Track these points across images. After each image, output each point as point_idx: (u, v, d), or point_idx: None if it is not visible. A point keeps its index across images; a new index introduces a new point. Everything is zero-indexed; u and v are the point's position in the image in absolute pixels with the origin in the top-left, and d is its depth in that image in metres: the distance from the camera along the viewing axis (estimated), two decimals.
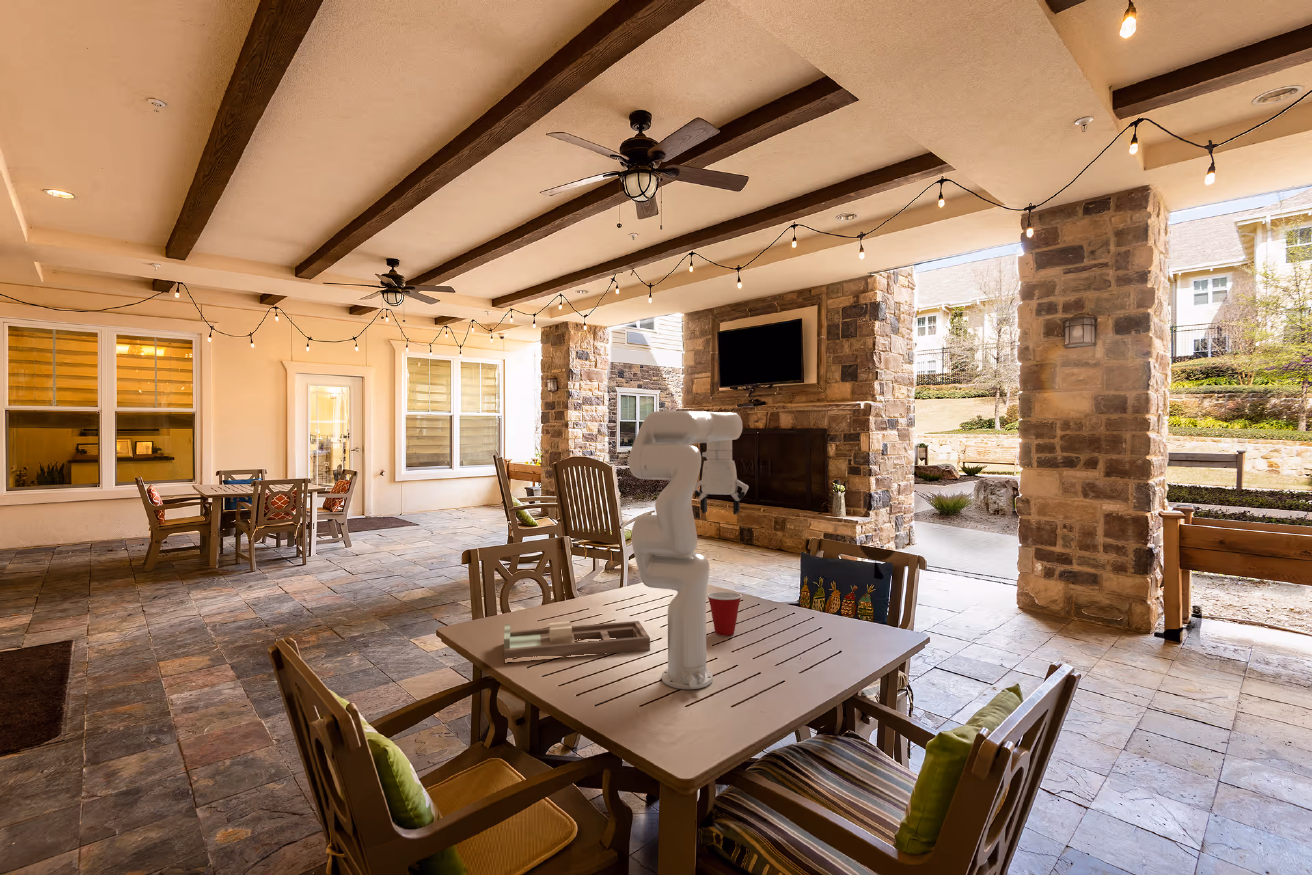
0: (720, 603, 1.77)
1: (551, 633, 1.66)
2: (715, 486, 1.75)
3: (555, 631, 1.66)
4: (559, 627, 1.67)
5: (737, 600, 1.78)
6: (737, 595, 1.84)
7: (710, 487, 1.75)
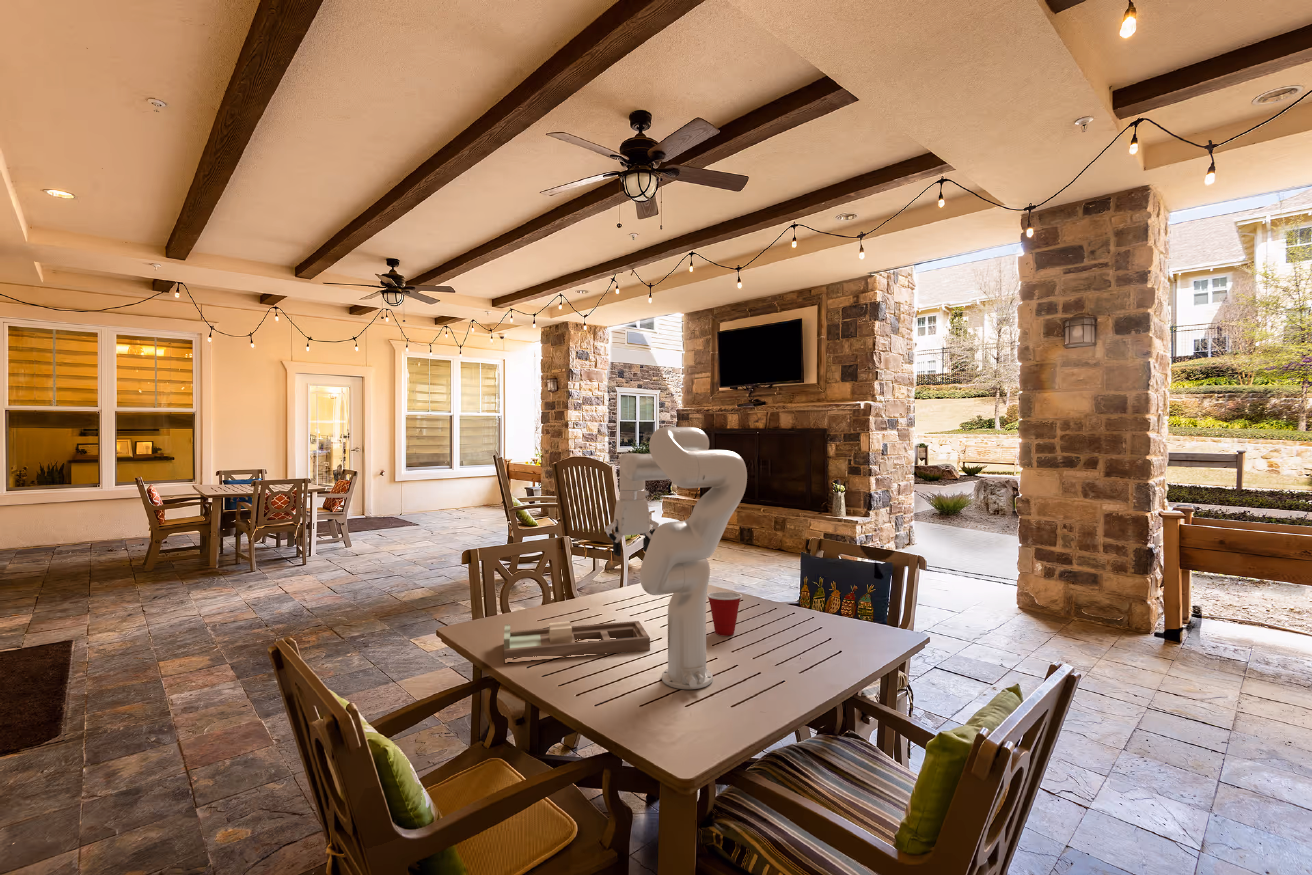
0: (720, 603, 1.77)
1: (551, 633, 1.66)
2: None
3: (555, 631, 1.66)
4: (559, 627, 1.67)
5: (737, 600, 1.78)
6: (737, 595, 1.84)
7: None
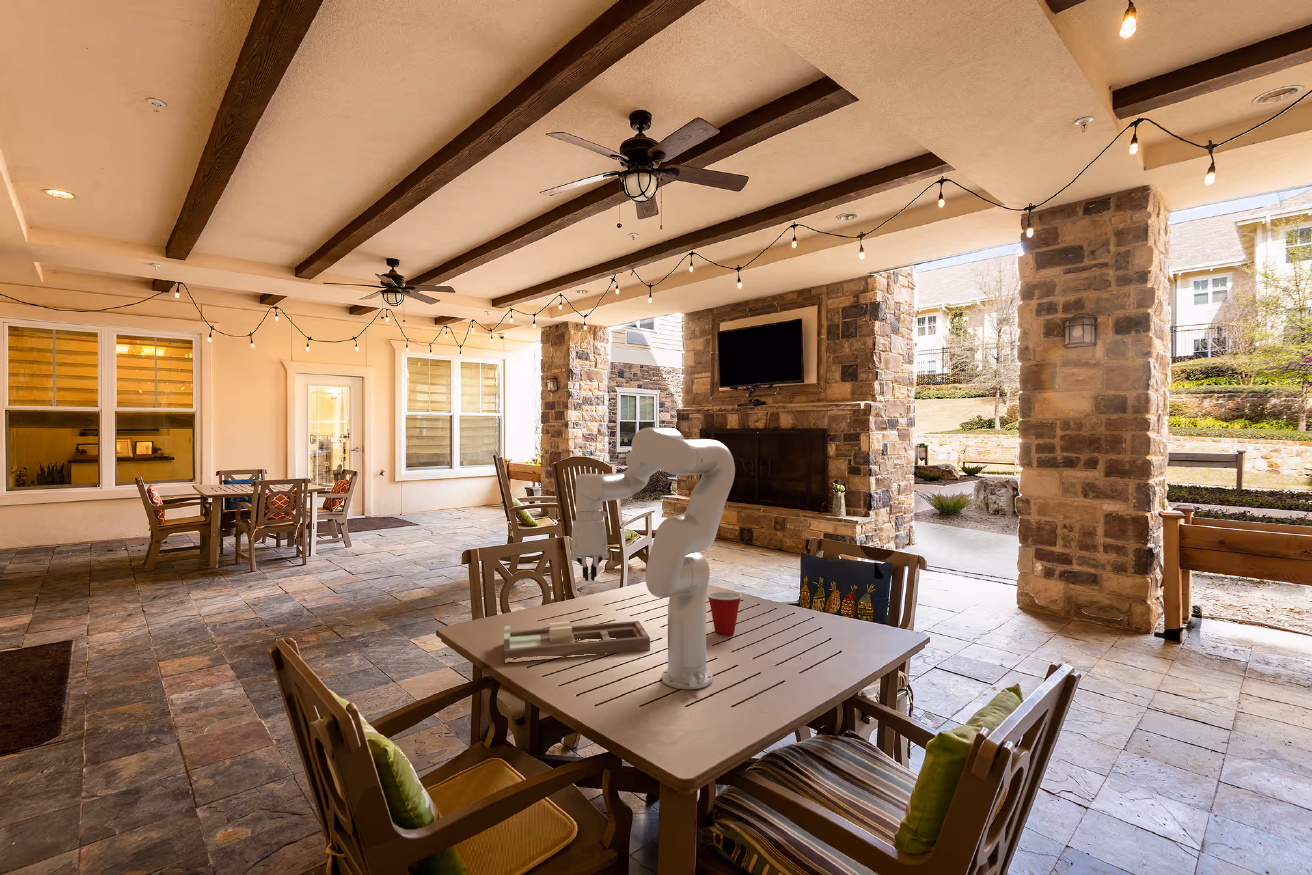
0: (720, 603, 1.77)
1: (551, 633, 1.66)
2: None
3: (555, 631, 1.66)
4: (559, 627, 1.67)
5: (737, 600, 1.78)
6: (737, 595, 1.84)
7: None
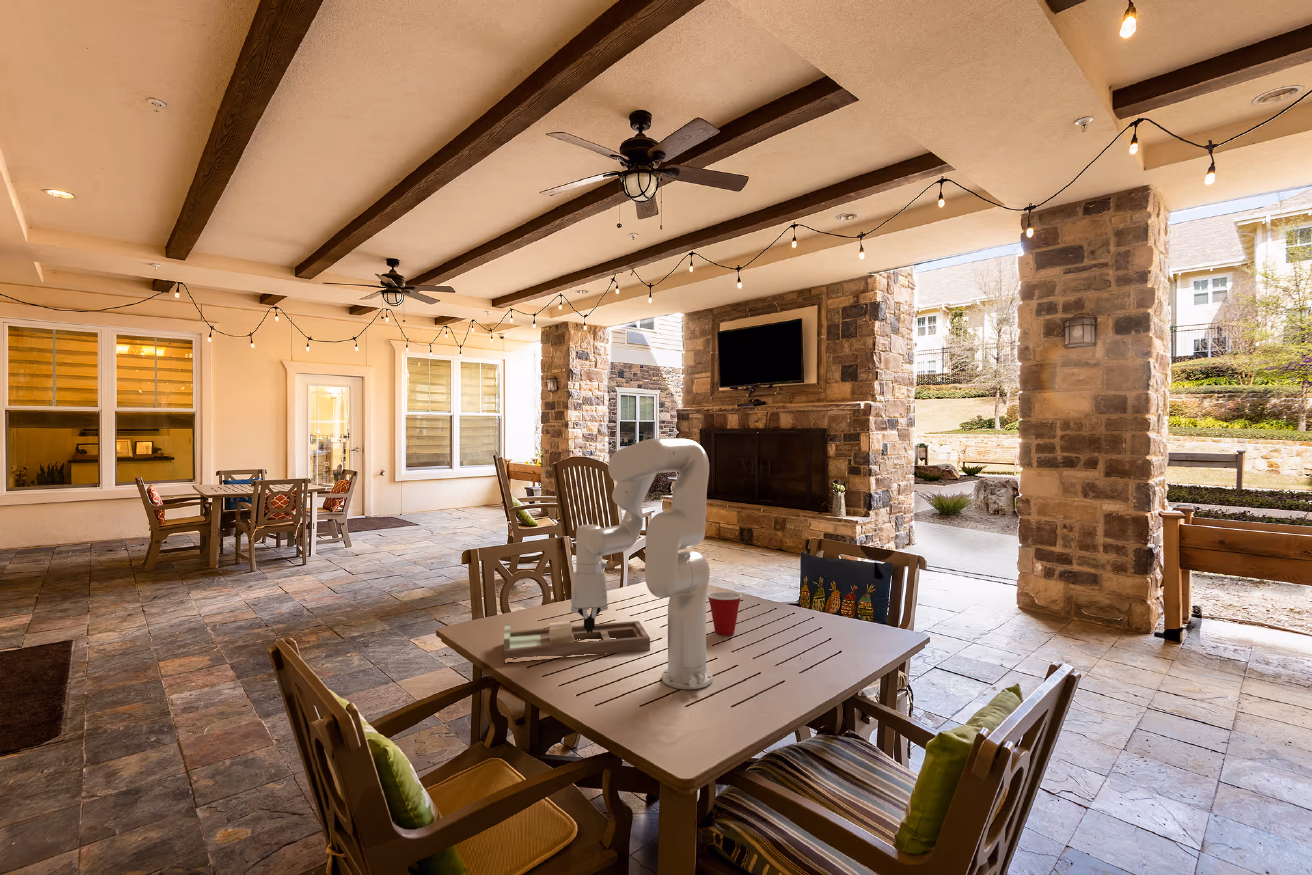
0: (720, 603, 1.77)
1: (551, 633, 1.66)
2: None
3: (555, 631, 1.66)
4: (559, 627, 1.67)
5: (737, 600, 1.78)
6: (737, 595, 1.84)
7: None
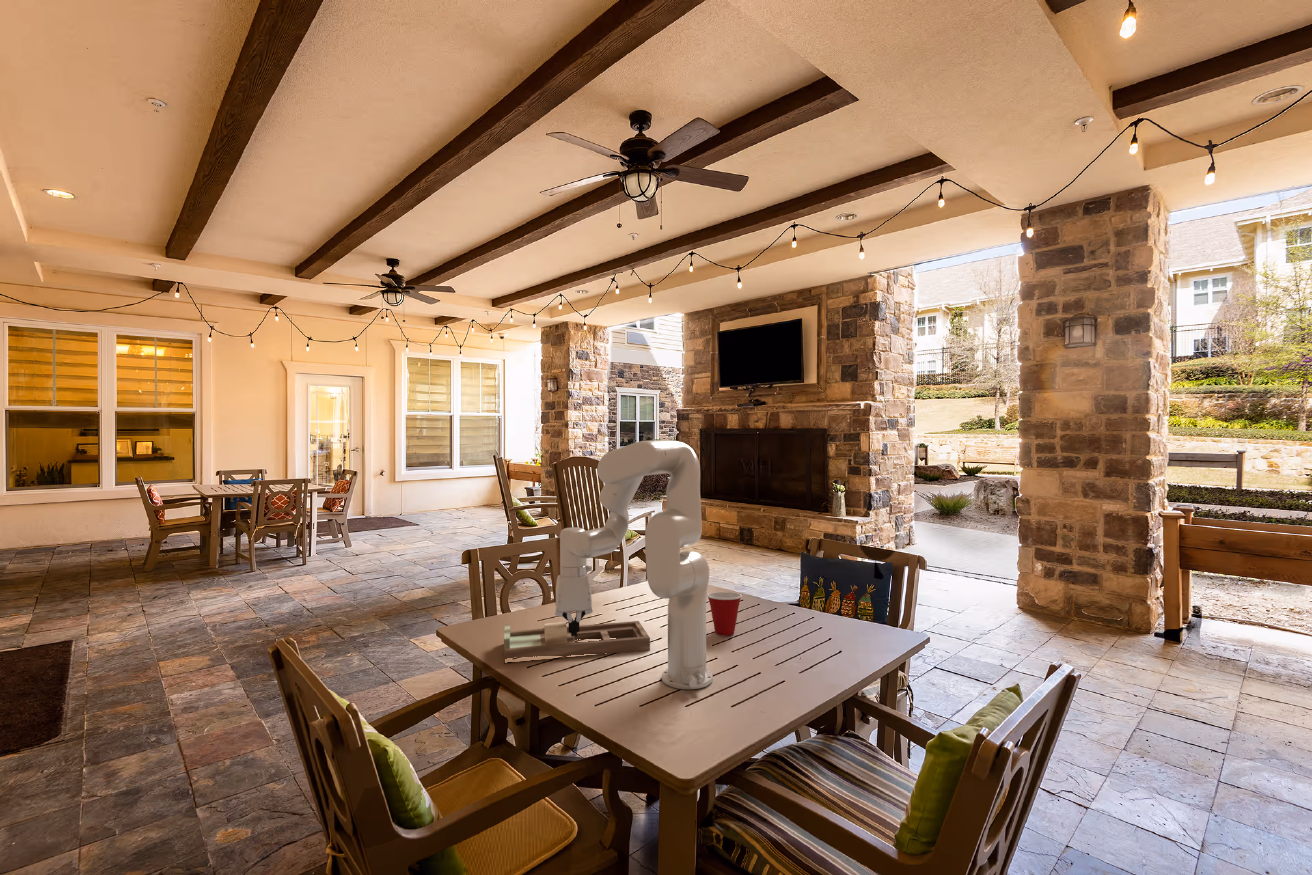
0: (720, 603, 1.77)
1: (546, 633, 1.65)
2: None
3: (551, 631, 1.66)
4: (554, 627, 1.67)
5: (737, 600, 1.78)
6: (737, 595, 1.84)
7: None
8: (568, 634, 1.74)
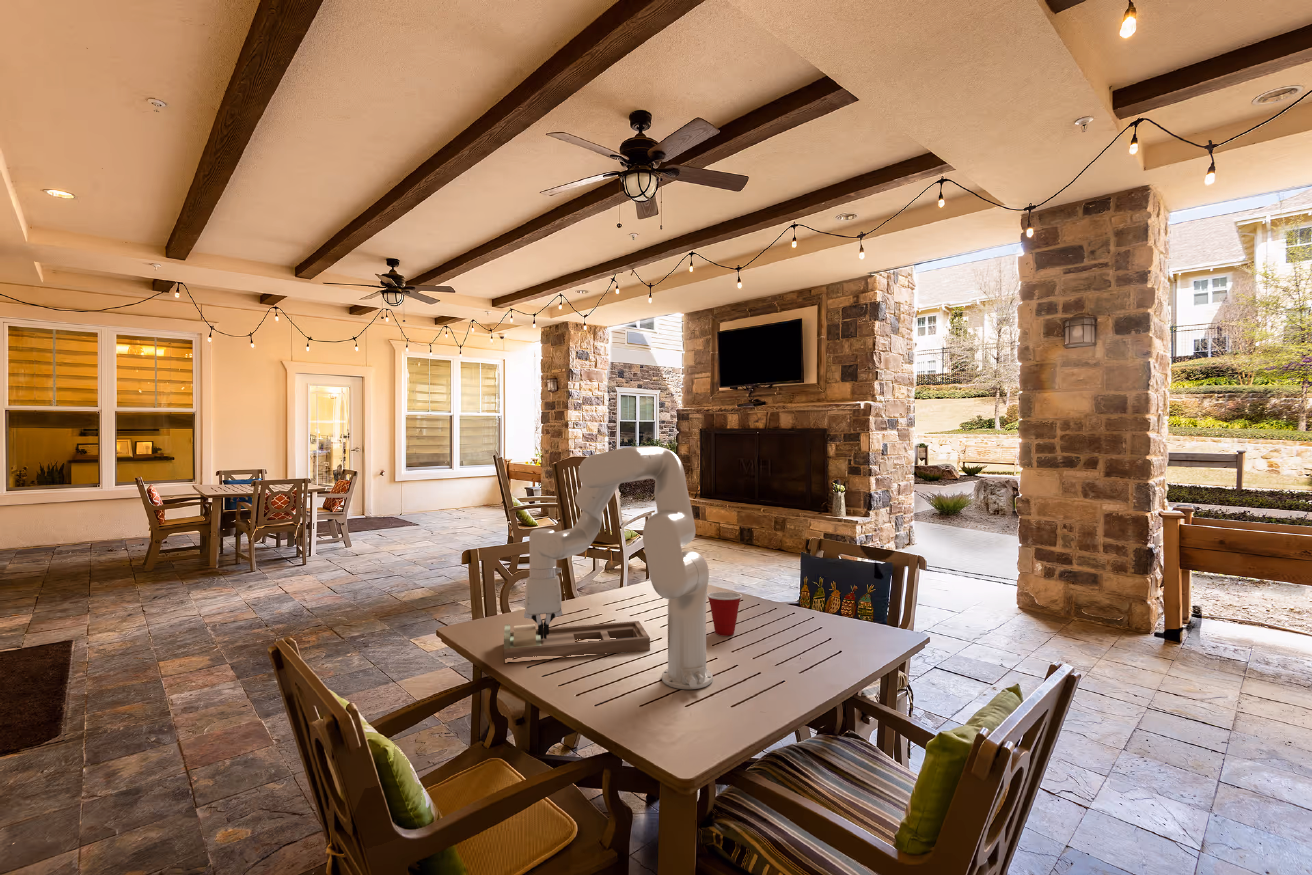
0: (720, 603, 1.77)
1: (514, 636, 1.63)
2: None
3: (519, 633, 1.64)
4: (523, 630, 1.65)
5: (737, 600, 1.78)
6: (737, 595, 1.84)
7: None
8: (568, 634, 1.74)
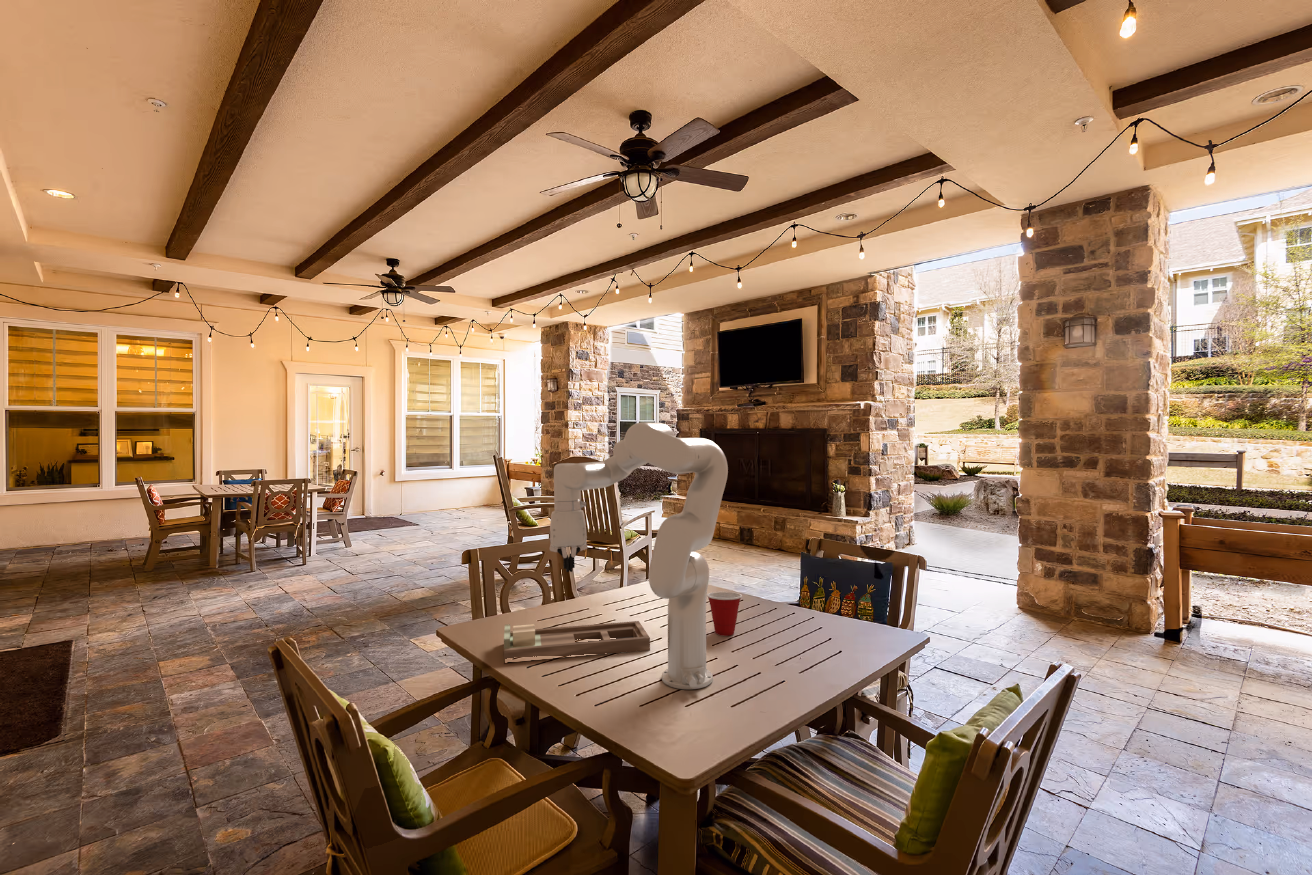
0: (720, 603, 1.77)
1: (514, 636, 1.63)
2: None
3: (518, 633, 1.64)
4: (522, 630, 1.65)
5: (737, 600, 1.78)
6: (737, 595, 1.84)
7: None
8: (568, 634, 1.74)
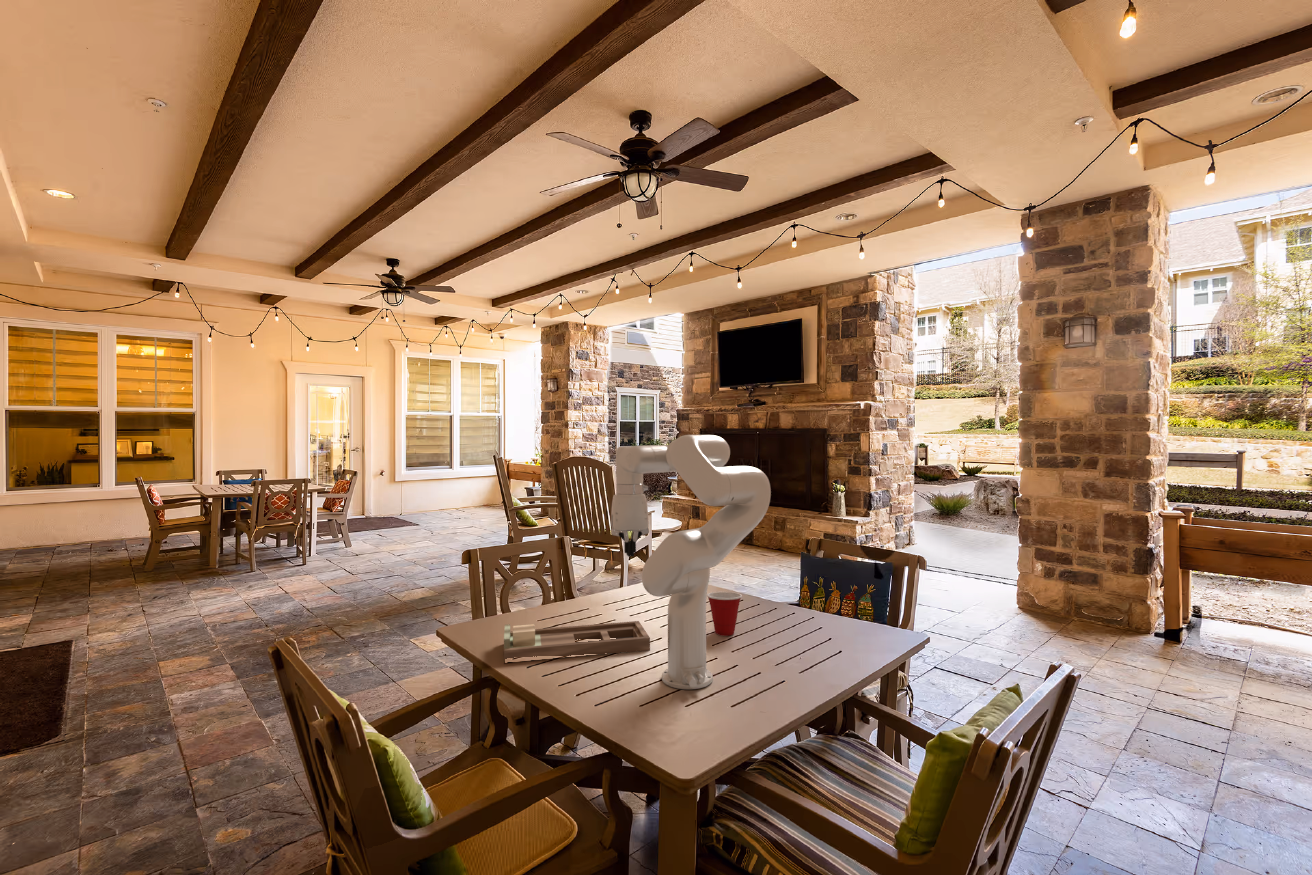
0: (720, 603, 1.77)
1: (514, 636, 1.63)
2: None
3: (518, 633, 1.64)
4: (522, 630, 1.65)
5: (737, 600, 1.78)
6: (737, 595, 1.84)
7: None
8: (568, 634, 1.74)
